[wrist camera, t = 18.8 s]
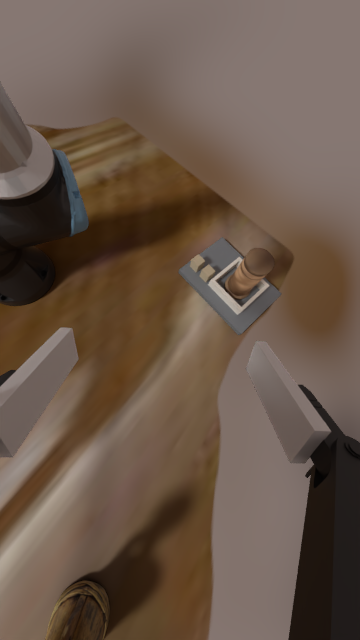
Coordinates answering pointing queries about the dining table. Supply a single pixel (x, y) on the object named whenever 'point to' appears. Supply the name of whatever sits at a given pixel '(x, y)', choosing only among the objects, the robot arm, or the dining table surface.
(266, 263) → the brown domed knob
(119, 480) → the dining table surface
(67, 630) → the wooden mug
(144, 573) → the dining table surface
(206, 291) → the board
